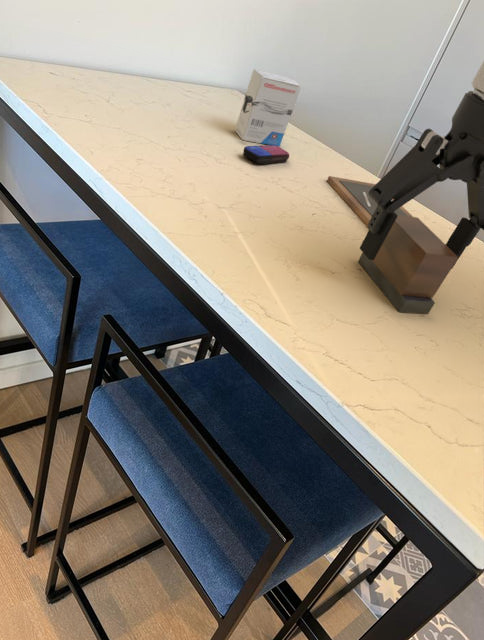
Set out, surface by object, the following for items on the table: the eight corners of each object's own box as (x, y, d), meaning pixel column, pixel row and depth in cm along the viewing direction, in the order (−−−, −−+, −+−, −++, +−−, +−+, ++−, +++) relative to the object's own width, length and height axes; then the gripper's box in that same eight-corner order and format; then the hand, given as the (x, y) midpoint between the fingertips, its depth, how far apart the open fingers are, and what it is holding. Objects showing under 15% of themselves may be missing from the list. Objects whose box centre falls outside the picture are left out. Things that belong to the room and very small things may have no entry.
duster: (429, 314, 77) (463, 261, 72) (397, 312, 75) (430, 257, 70) (385, 264, 86) (414, 213, 80) (356, 261, 83) (383, 209, 78)
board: (440, 252, 96) (444, 246, 95) (384, 244, 91) (387, 238, 90) (378, 189, 111) (381, 184, 110) (326, 180, 106) (329, 175, 105)
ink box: (271, 137, 116) (292, 77, 109) (280, 147, 113) (302, 86, 106) (233, 129, 112) (252, 67, 105) (241, 140, 109) (262, 76, 102)
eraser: (275, 152, 110) (278, 143, 109) (290, 162, 108) (294, 153, 107) (238, 154, 102) (241, 145, 101) (254, 165, 100) (258, 155, 99)
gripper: (550, 110, 72) (459, 252, 85) (396, 65, 62) (318, 234, 75) (594, 135, 67) (489, 282, 80) (433, 89, 57) (343, 266, 70)
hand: (406, 259), depth 78 cm, fingers open, 13 cm apart
